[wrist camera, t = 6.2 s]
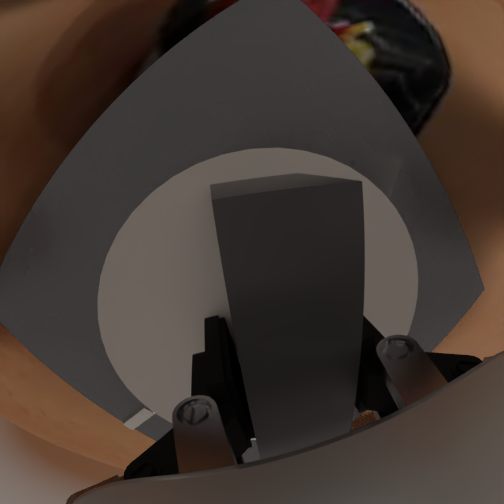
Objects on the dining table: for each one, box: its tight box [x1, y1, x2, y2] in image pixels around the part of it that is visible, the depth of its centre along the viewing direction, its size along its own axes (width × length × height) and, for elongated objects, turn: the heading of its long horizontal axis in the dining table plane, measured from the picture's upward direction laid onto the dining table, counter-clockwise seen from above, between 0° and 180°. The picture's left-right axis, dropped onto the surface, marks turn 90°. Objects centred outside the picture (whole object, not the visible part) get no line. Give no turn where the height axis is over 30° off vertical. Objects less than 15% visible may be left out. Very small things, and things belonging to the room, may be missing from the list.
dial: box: [97, 148, 418, 460], centre depth 10 cm, size 16×14×6 cm
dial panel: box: [0, 0, 484, 463], centre depth 14 cm, size 22×22×2 cm
